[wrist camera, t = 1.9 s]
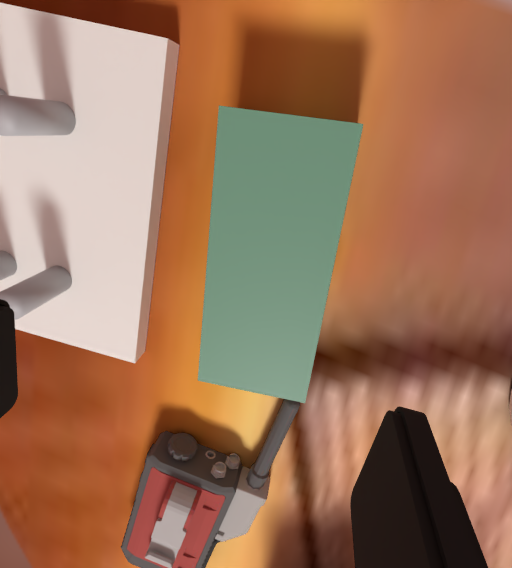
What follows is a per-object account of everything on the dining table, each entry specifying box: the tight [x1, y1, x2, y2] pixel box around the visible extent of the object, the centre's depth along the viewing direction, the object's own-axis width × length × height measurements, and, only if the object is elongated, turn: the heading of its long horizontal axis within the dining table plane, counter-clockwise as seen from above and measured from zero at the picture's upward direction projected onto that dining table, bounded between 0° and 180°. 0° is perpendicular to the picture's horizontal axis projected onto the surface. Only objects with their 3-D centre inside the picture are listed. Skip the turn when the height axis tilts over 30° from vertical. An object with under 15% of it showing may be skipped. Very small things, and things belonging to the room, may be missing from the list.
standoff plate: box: [0, 3, 179, 363], centre depth 21 cm, size 14×18×6 cm
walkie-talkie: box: [121, 399, 300, 568], centre depth 28 cm, size 9×4×20 cm
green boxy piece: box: [198, 106, 363, 403], centre depth 21 cm, size 6×14×4 cm, turn 173°
